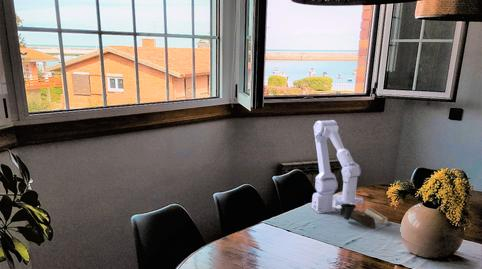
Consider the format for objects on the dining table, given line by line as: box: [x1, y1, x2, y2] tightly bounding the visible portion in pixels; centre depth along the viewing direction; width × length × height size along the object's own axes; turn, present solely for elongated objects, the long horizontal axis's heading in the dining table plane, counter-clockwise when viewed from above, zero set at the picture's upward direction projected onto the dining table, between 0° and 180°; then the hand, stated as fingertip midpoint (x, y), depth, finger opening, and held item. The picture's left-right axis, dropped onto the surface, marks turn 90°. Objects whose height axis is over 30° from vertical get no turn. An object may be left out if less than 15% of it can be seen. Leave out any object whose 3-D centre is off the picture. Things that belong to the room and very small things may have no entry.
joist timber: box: [364, 207, 388, 225], centre depth 167 cm, size 3×12×3 cm, turn 17°
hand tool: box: [339, 207, 376, 229], centre depth 164 cm, size 19×4×5 cm, turn 28°
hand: (346, 218), depth 163 cm, fingers closed
